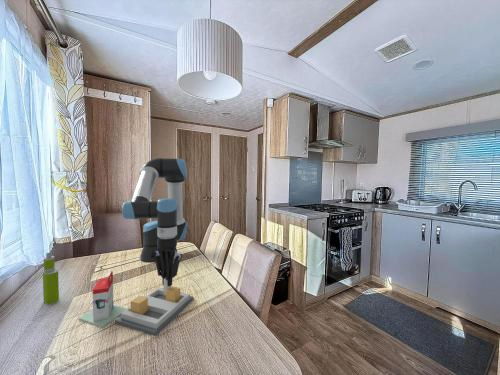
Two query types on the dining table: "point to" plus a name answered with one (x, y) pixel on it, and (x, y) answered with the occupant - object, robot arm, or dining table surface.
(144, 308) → the light orange block
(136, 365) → the dining table surface
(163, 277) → the robot arm
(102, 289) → the ink box
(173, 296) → the tan block
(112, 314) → the rest pad
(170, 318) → the grey divided tray
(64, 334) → the dining table surface
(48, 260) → the vape
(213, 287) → the dining table surface
